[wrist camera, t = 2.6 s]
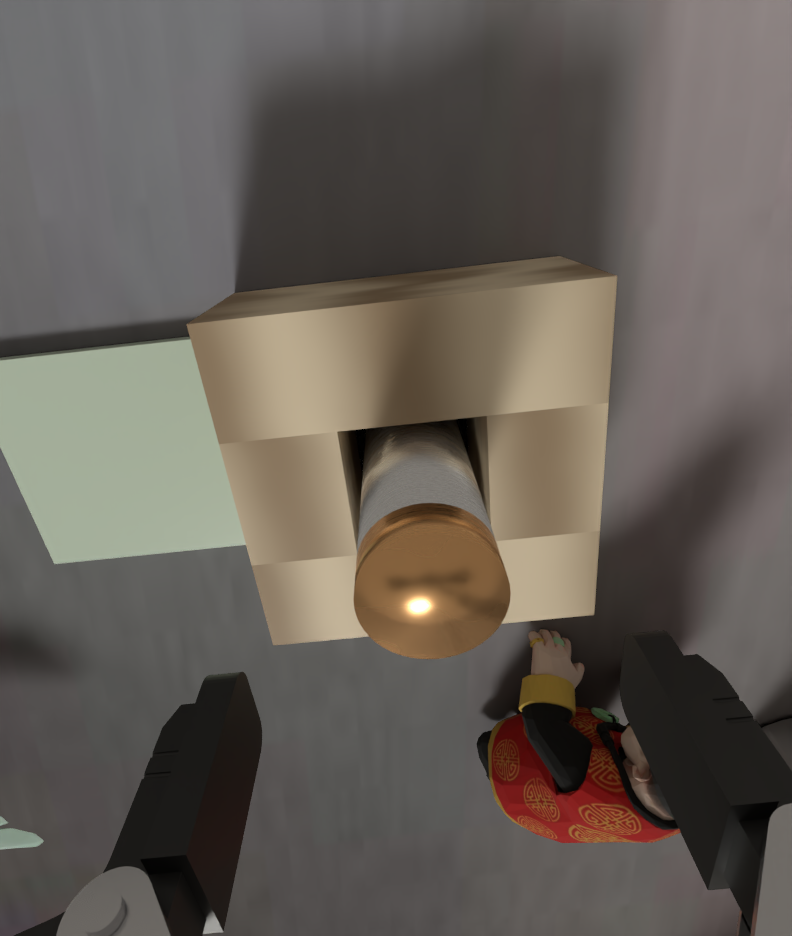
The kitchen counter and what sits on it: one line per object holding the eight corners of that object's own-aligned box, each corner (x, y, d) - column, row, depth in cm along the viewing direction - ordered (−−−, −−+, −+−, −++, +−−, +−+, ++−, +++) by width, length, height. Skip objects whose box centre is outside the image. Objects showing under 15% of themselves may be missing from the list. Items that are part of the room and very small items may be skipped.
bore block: (559, 255, 22) (617, 275, 16) (553, 532, 28) (594, 614, 22) (234, 293, 22) (186, 324, 17) (294, 558, 28) (273, 645, 23)
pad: (207, 334, 23) (202, 337, 22) (258, 536, 27) (256, 543, 27) (-29, 360, 23) (-38, 364, 23) (60, 556, 28) (54, 563, 27)
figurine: (585, 683, 38) (798, 624, 26) (598, 852, 32) (874, 872, 21) (462, 650, 35) (639, 569, 24) (454, 828, 30) (678, 836, 18)
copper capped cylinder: (452, 378, 24) (509, 526, 13) (457, 461, 26) (511, 651, 15) (360, 388, 24) (342, 542, 13) (372, 470, 26) (364, 665, 15)
